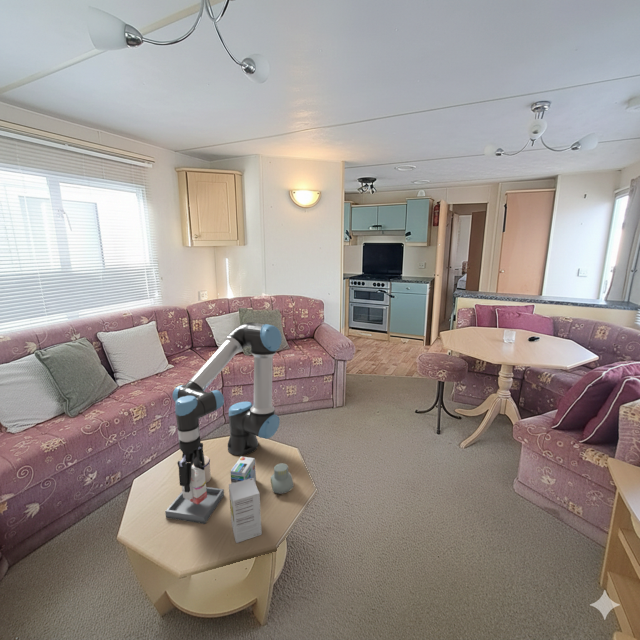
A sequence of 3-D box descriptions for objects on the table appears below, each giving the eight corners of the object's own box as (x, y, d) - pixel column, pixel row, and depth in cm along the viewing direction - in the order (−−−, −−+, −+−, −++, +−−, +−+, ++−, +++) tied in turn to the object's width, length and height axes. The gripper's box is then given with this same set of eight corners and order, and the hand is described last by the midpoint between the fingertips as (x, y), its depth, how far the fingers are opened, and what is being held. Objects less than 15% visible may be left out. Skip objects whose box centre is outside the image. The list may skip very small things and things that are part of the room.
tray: (188, 490, 142) (188, 484, 142) (224, 495, 139) (223, 489, 139) (166, 517, 128) (165, 511, 127) (204, 524, 125) (204, 517, 124)
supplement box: (231, 524, 125) (227, 483, 121) (256, 516, 128) (253, 476, 125) (235, 544, 116) (232, 501, 113) (262, 535, 120) (260, 492, 116)
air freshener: (294, 494, 139) (293, 473, 137) (274, 499, 137) (273, 477, 135) (288, 478, 149) (288, 457, 147) (270, 482, 147) (269, 461, 145)
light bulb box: (246, 496, 139) (245, 473, 136) (231, 494, 140) (229, 471, 138) (256, 479, 149) (255, 457, 147) (242, 477, 150) (240, 455, 148)
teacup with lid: (210, 470, 155) (208, 447, 153) (212, 483, 147) (210, 458, 145) (181, 478, 150) (179, 454, 148) (182, 491, 142) (180, 466, 140)
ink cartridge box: (207, 497, 133) (204, 463, 130) (197, 505, 129) (194, 470, 126) (192, 489, 137) (189, 456, 134) (182, 497, 133) (178, 463, 130)
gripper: (194, 424, 138) (199, 475, 142) (164, 450, 119) (170, 508, 124) (211, 425, 136) (215, 477, 141) (183, 452, 118) (189, 511, 122)
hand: (194, 491), depth 132 cm, fingers closed on ink cartridge box, 6 cm apart
